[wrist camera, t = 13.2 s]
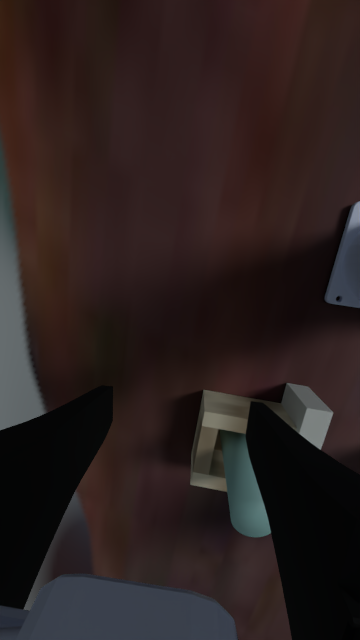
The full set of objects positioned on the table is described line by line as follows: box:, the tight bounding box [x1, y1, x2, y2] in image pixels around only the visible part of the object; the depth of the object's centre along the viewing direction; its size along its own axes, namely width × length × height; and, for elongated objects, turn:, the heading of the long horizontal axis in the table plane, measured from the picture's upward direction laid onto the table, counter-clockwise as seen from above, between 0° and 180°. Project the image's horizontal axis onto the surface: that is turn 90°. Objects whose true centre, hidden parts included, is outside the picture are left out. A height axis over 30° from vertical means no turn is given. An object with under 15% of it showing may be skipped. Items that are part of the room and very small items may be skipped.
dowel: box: [220, 429, 271, 537], centre depth 18 cm, size 3×3×8 cm
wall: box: [281, 383, 333, 450], centre depth 20 cm, size 2×12×4 cm, turn 172°
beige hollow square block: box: [190, 390, 297, 492], centre depth 21 cm, size 8×8×4 cm
